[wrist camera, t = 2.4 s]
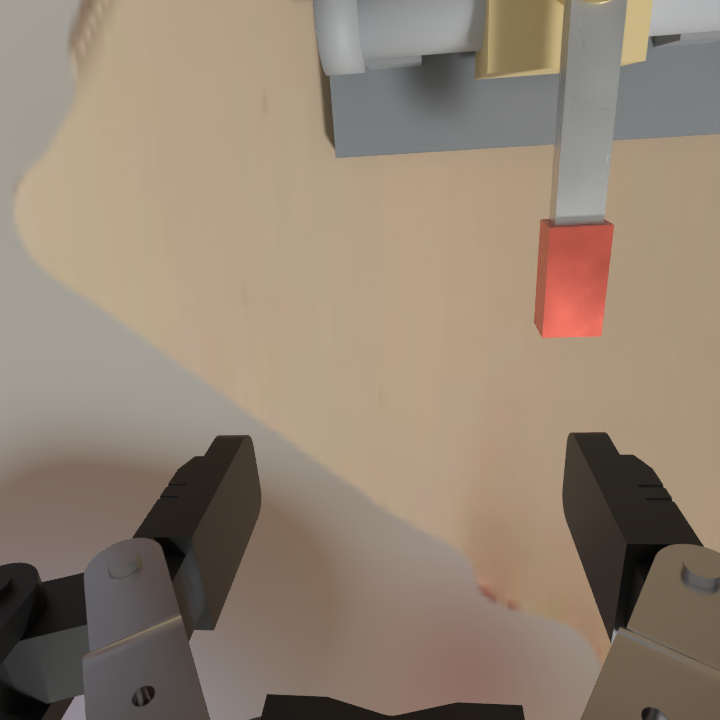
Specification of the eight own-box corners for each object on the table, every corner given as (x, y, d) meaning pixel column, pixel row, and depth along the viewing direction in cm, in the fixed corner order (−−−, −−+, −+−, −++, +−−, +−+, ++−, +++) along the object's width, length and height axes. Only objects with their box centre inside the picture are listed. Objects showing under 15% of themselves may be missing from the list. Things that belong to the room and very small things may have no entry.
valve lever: (556, -73, 21) (569, -90, 19) (633, -81, 21) (654, -100, 19) (532, 322, 28) (540, 338, 26) (591, 321, 27) (603, 336, 25)
